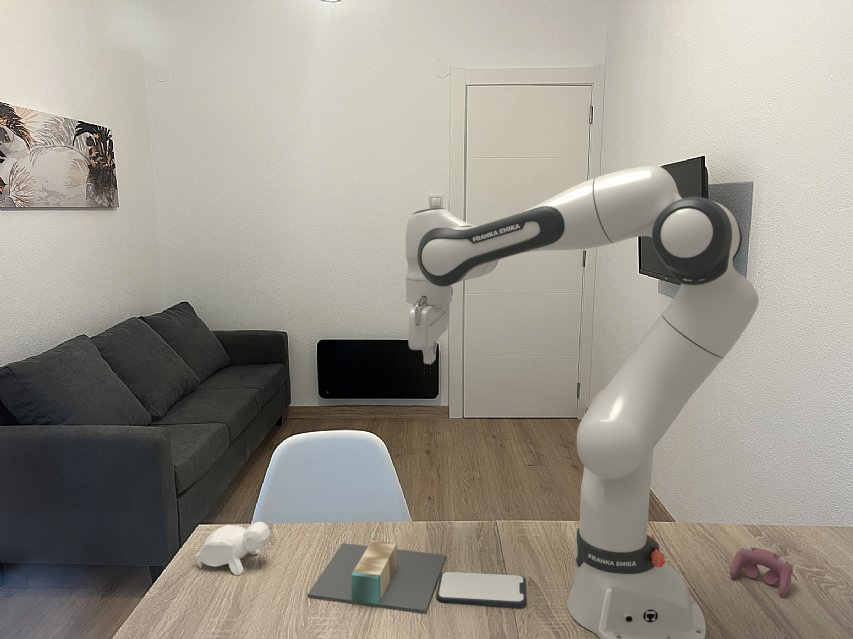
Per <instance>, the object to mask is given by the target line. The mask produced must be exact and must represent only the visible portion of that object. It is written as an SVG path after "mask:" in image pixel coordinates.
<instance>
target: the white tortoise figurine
mask: <svg viewBox="0 0 853 639" xmlns="http://www.w3.org/2000/svg"><path fill="white" fill-rule="evenodd" d="M271 533H272V532H271V530H270V527H269V525H268V524H267V523H265V522H263V521H257V522H254V523H252V524H250V525H249V526H248V527H247V528H245V527H242V526H241V525H240V526H239V525H233V524H232V525H231V524H226V525H224V526H222V527H219V528H217V529H215V530H213V532H211V534H209V535H208V537H206V539H205V541H204V543H203V544H202V547H200V549H199V552H197V553H196V554H195V555H194V557H195V559H196V562H197V565H198V567H199V568H203V565H207V566H210V567H221V566H224V565H227V564H228V567H229V569H230V571H231V573H233V575H235V576H241V575H242V574H243V572H244V566H243V565H242V562H241V559H242V558H243V557H245V556H246V555H247V554H248V553H249V554H250V555H254V556H256V555H255V554H257V555H258V554H259V553H260V550H261V549H262V548H263V547H265V546H266V545H267V543H268V542H269V540H270V539H271V535H272V534H271Z"/></svg>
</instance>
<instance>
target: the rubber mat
mask: <svg viewBox="0 0 853 639" xmlns="http://www.w3.org/2000/svg"><path fill="white" fill-rule="evenodd" d="M368 546H369V545H365V544H364V545H363V544H355V543H347V542H342V543H341V544H340V546H339V548H338V549H337V550H336V551H335V553H334V555H333V556H332V557H331V560H330V561H329V562H328V563H327V565H326V567H324V570H323V571H322V572H321V574H320V576H319V577H318V578H317V580H316V581H315V582H314V584H313V586H312V587H311V589H310V590H309V592H308V593H307V598H310V599H316V600H317V599H318V600H323V599H324V600H325V601H331V600H332V602H338V601H340V602H339V603H345V602H349V603H348V604H352V603H354V605H362V606H368V607H376V608H382V609H383V608H384V609H391V610H396V609H398V611H404V612H412V613H419V614H427V612H428V609H429V606H430V603H431V601H432V597H433V594H434V593H435V589H436V587H437V584H438V583H439V579H440V575H441V573H442V570H443V568H444V565H445V561H446V559H447V555H446V554H440V553H431V552H424V551H422V552H421V551H415V550H405V549H397V568H396V570H395V572H394V574H393V576H392V578H391V580H390V582H389V584H388V587H387V589H386V591H385V593H384V595H383V597H382V599H381V601H380V603H379V604H374V603H366V602H359V601H352V585H351V574H352V573H353V571H354V569H355V568H356V566H357V564H358V563H359V561H360V559H361V558H362V556H363V554H364V553H365V551H366V549H367V548H368Z"/></svg>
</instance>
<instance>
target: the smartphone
mask: <svg viewBox="0 0 853 639" xmlns="http://www.w3.org/2000/svg"><path fill="white" fill-rule="evenodd" d="M526 583H527V582H526V577H525V576H523V575H520V574H508V573H507V574H506V573H485V572H468V571H467V572H465V571H448V570H447V571H443V572H441V573H440V576H439V579H438V583H437V584H438V586H437V591H436V594H435V596H436V598H435V599H436V601H437V602H438V603H441V604H449V605H450V604H453V605H465V606H476V607H477V606H478V607H490V608H505V609H517V610H519V609H524V608H525V607H526V606H527V584H526Z"/></svg>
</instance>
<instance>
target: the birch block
mask: <svg viewBox="0 0 853 639" xmlns="http://www.w3.org/2000/svg"><path fill="white" fill-rule="evenodd" d="M367 546H368V548H367V549H366V551H365V553H364V554H363V556H362V558H361V559H360V561H359V563H358V564H357V566H356V568H355V569H354V571H353V573H352V574H351V585H352V601H359V602H366V603H374V604H379V603H380V601H381V599H382V597H383V595H384V593H385V591H386V589H387V587H388V584H389V582H390V580H391V578H392V576H393V574H394V572H395V570H396V568H397V548H398V543H397V542H390V541H382V540H373V539H372V540H371V541H370V542H369V545H367Z"/></svg>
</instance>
